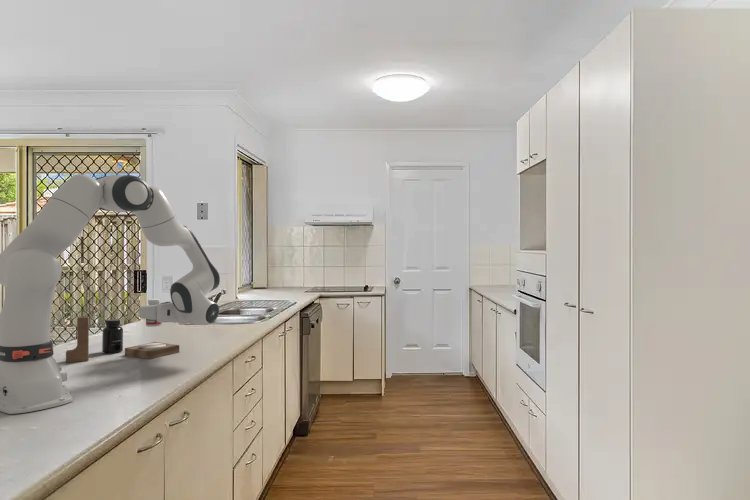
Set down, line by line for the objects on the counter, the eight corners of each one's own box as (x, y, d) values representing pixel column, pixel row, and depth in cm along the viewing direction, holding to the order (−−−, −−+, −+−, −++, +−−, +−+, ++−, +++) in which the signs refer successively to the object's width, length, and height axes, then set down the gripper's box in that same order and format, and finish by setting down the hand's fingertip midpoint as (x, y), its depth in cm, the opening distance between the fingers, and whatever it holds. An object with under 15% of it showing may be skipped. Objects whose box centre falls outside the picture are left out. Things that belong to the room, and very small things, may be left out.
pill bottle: (159, 326, 182) (159, 299, 182) (143, 327, 182) (143, 300, 182) (163, 324, 188) (163, 298, 188) (148, 324, 187) (148, 298, 187)
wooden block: (88, 359, 176) (88, 316, 176) (88, 361, 173) (88, 317, 173) (66, 360, 173) (66, 317, 173) (65, 362, 170) (65, 318, 170)
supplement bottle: (116, 354, 184) (116, 321, 184) (98, 353, 184) (98, 321, 184) (126, 350, 191) (126, 318, 191) (108, 350, 191) (108, 318, 191)
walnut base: (179, 352, 188) (179, 344, 188) (150, 359, 177) (150, 350, 177) (154, 348, 194) (154, 340, 194) (124, 355, 182) (124, 347, 182)
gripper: (201, 299, 189) (174, 297, 195) (156, 304, 170) (128, 302, 176) (201, 315, 189) (174, 313, 195) (156, 323, 170) (128, 320, 176)
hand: (152, 308), depth 185 cm, fingers closed on pill bottle, 5 cm apart
